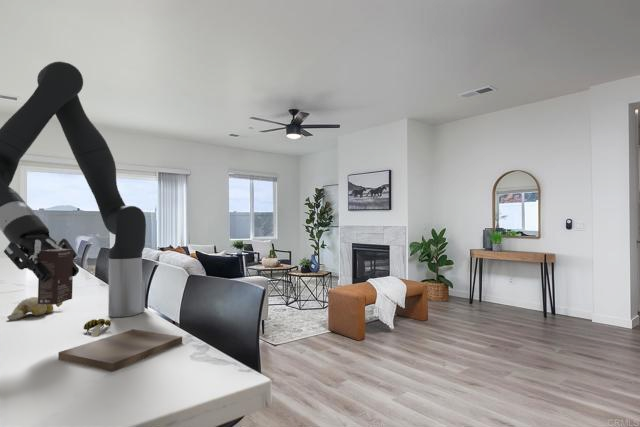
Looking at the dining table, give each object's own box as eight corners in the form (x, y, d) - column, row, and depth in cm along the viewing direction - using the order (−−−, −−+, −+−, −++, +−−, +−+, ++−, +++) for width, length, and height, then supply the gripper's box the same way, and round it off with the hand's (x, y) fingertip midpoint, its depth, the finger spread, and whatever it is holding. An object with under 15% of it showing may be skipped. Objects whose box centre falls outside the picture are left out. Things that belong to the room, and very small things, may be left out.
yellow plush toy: (-1, 298, 112) (56, 288, 125) (-1, 318, 113) (56, 305, 125) (11, 307, 107) (70, 295, 119) (11, 328, 108) (70, 314, 120)
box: (57, 305, 84) (57, 250, 84) (37, 305, 83) (36, 250, 83) (74, 298, 90) (74, 248, 90) (55, 299, 89) (54, 248, 89)
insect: (89, 319, 103) (97, 303, 103) (111, 327, 104) (119, 310, 104) (74, 339, 92) (83, 320, 92) (99, 346, 94) (108, 328, 94)
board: (132, 335, 94) (132, 329, 94) (182, 343, 88) (182, 336, 88) (58, 359, 78) (58, 352, 78) (112, 371, 71) (112, 363, 71)
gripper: (-3, 213, 81) (41, 269, 79) (58, 213, 95) (97, 261, 92) (-22, 238, 83) (21, 294, 80) (41, 234, 97) (79, 282, 94)
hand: (61, 276), depth 86 cm, fingers closed on box, 6 cm apart
